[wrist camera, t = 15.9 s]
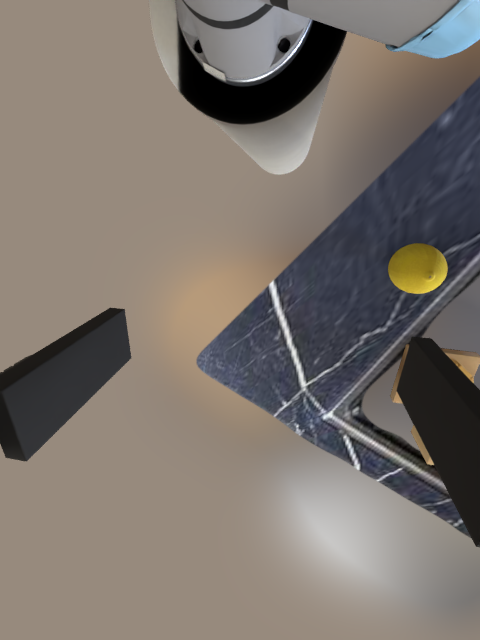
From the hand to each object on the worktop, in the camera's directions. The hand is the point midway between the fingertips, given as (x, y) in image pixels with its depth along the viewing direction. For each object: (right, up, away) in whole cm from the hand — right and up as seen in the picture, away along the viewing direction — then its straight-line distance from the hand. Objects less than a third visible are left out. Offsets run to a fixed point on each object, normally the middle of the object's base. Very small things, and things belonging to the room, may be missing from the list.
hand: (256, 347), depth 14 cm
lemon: (+20, +9, +24) cm, 33 cm away
